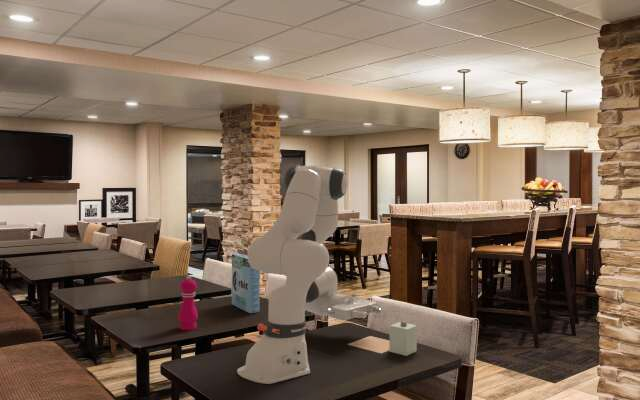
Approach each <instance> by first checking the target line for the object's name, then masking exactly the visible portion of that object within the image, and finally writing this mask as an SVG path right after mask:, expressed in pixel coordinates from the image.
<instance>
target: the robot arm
mask: <svg viewBox="0 0 640 400" xmlns="http://www.w3.org/2000/svg"><path fill="white" fill-rule="evenodd" d="M283 179H284V180H283V183H284V184H283V185H284V189H285V191H286V192H285V194H284V195H285V196H284V199H283V203H282V206H281V209H280V212H279V215H278V217H277V220H275V222H274V224H273V225H272V226H271V227H270V228H269V230H267V231H266V232H265V233H264V234H263V235H261V236H259V237H258V238H255V239H254V240H253V241H252V242H251V243H250V245H249V247H248V248H247V254H246V255H247V258H248V262H249V264H250V266H251V267H252V268H253V269H255V270H258V271H260V272H261V273H265V274H272V275H281V276H285V277H286V278H285V283H284V284H282V285H280V286H278V287H276V288H275V289H273V290H272V291H271V293H270V294H269V297H268V312H267V313H268V315H267V317H268V318H267V320H266V322H265V324H264V323H259V324H258V325H257V327H256V328H257V330H258V331H261V332H263V334H262V335H261V337H259V339H258V340H257V341H256V342H255V344H253V346H251V348H249V350H248V351H247V353H246V358H245V364H244V365H243V366H241V367H239V368H237V369H236V370H237V371H236V372H237V375H239V376H240V377H242V378H243V379H246V380H248V381H251V382H255V383H258V384H266V385H267V384H268V385H271V384H275V383H278V382H283V381H286V380H291V379H293V378H297V377H301V376H305V375H308V374H310V373H311V369H310V365H309V360H308V359H309V358H308V349H307V348H308V346H307V341H306V332H307V320H306V315H305V314H306V313H305V312H306V310H307V311H308V312H310V313H313V314H316V315H320V316H328V317H330V318H331V319H332V318H333V319H338V320H342V321H343V320H344V321H347V320H351V319H355V318H356V319H357V318H360V319H361V318H362V319H365V318H367V316H368V315H370V314H374V313H375V314H377V315H380V314H382V313H383V310H382V307H378V303H377V302H376V301H374V300H371V299H368V298H363V297H362V298H361V297H359V295H348V294H341V293H338V290H339V289H338V287H339V280H338V275H337V273H336V271H335V270H334V269H333V268H332V267H331V266H329V264H330V254H329V251H328V249H327V247H326V246H325V244H323V243H324V242H326V240H328V238H330V237H331V236H332V235H333V234H334V233H335V232H336V230H337V228H338V223H339V203H338V202H339V201H338V200H339V199H341V198H342V197H344V196H345V195H346V192H347V189H348V186H349V180H348V175H347V173H346V172H345V170H344V169H341V168H337V167H329V166H328V167H327V166H318V165H293V166H290V167H289V168H288V169H287V170H286V171H285V174H284V178H283ZM299 237H301V238H300V239H299ZM297 238H298V239H297Z"/></svg>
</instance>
